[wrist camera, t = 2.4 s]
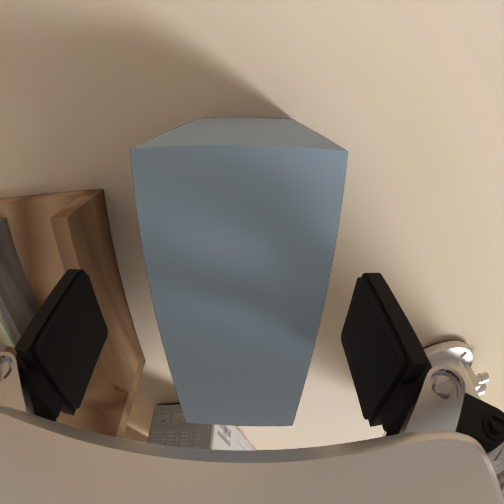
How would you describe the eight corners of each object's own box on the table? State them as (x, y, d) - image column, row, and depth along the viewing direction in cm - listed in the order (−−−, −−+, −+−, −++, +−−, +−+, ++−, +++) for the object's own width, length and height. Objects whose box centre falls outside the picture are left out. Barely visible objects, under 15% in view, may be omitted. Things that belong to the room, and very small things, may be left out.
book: (293, 119, 15) (349, 151, 6) (280, 297, 21) (293, 425, 12) (200, 117, 15) (127, 149, 6) (208, 296, 21) (185, 422, 12)
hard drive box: (152, 402, 28) (121, 564, 11) (215, 398, 27) (201, 583, 10) (208, 453, 36) (199, 570, 18) (258, 450, 35) (258, 574, 17)
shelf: (103, 189, 17) (-28, 310, 6) (145, 361, 25) (112, 478, 14) (-31, 204, 17) (-118, 275, 6) (22, 337, 24) (-24, 417, 14)
